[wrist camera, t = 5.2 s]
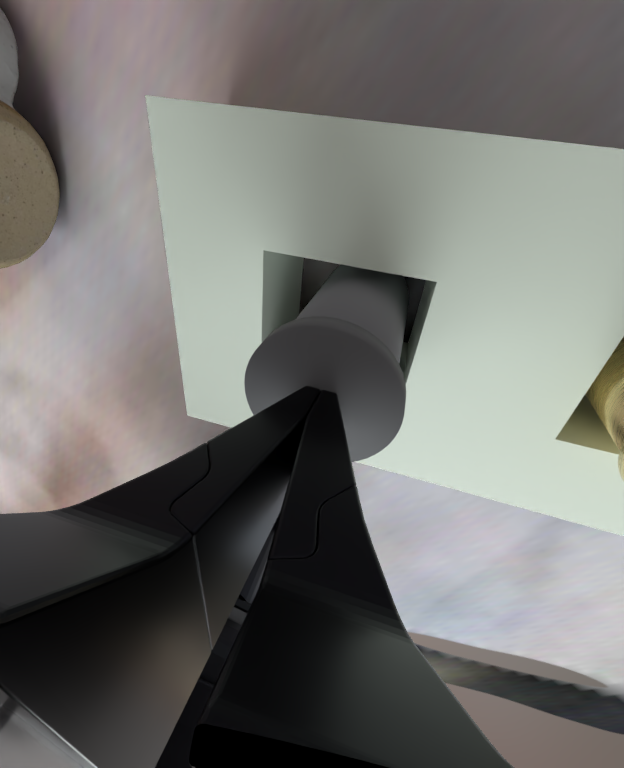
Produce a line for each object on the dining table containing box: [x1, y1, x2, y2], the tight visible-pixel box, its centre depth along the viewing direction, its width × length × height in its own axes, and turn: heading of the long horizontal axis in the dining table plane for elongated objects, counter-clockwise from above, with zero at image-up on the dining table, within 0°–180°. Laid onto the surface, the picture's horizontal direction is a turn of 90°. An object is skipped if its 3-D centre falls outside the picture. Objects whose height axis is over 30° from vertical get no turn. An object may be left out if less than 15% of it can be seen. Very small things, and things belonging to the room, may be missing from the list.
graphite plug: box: [244, 264, 409, 462], centre depth 12 cm, size 4×4×8 cm
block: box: [145, 95, 624, 536], centre depth 14 cm, size 12×24×5 cm, turn 84°
